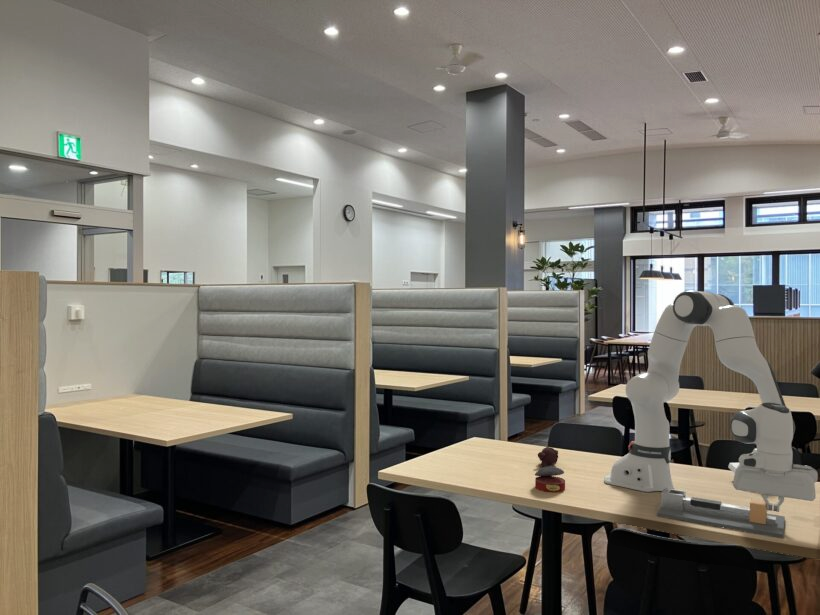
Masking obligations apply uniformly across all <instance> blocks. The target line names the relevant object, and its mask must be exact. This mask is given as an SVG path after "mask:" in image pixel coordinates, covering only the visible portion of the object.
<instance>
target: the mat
mask: <svg viewBox="0 0 820 615" xmlns="http://www.w3.org/2000/svg"><path fill="white" fill-rule="evenodd" d="M656 516H657V517H660V516H662V517H661V518H665V517H668V518H667V519H671V518H673V519H672V520H676V519H678V521H682V520H684V521H683V522H688V521H689V523H694V524H699V525H700V524H701V525H705V526H710V525H712V527H716V526H718V528H722V527H724V528H723V529H727V528H729V530H733V529H735V530H734V531H738V530H741V531H740V532H744V531H746V532H745V533H750V534H757V535H763V536H767V537H768V536H769V537H773V538H778V539H779V538H780V539H784V534H785V532H784V531H785V530H784V529H785V519H786V517H785V516H784V515H779V514H771V513H767V516H773V517H776V525H771V524H761V523H755V522H750V521H747V520H741V519H735V518H730V517H724V516H718V515H712V514H706V513H700V512H694V511H688V510H683V511H681V510H675V509H669V508H663V507H661V506H660V508H659V509H658V511H657V512H656Z"/></svg>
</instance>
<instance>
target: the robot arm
mask: <svg viewBox="0 0 820 615" xmlns="http://www.w3.org/2000/svg"><path fill="white" fill-rule="evenodd" d="M697 326H700V327H709V328H710V329H711V330H712V334H713V337H714V338H713V339H714V342H715V343H714V344H715V349H716V350H715V351H716V354H717V357H718V360H719V361H720V363H721V364H723V366H725V367H726V368H728V369H730V370H731V371H733V372H736V373H739V374H741V375H744V376H746V378H748V379H750V380H751V381H752V382H753V383H754V385H755V387H756V389H757V392H758V395H759V398H760V401H761V404H759V405H758V406H757V407H754V408H752V409H747V410H746V409H745V410H740V411H737V412H735V413H734V414H733V415H732V417H731V419H730V422H729V429H730V433H731V435H732V437H733V438H734V439H735V440H737V441H738V442H739V443H744V444H755V445H756V448H757V452H756V453H752V452H750V453H743V454H741V455H740V456H739V458H738V463H739V465H738V466H737V468H736V471H735V473H734V476H733V482H732V483H733V486H732V487H733V488H734V489H735V491H741V492H750V493H756V494H762V497H761V498H762V500H763V501H765V503H766V504H767V511H769V512H770V511H773V512H777V513H779V512H780V507H781V505H782V504H783V503H784V501H785V498H789V499H795V500H801V501H808V502H813V501H814V500H815V499H816V498H817V496H816V493H817V492H816V484H815V483H817V481H818V479H819V478H818V476H819V474H818V471H817V470H816V469H815V468H813V467H812V466H809V465H802V464H795V463H793V453H794V452H793V448H792V442H793V439H794V434H795V432H796V424H795V420H794V419H793V416H792V411H791V409H790V408H789V407H787V405H786V403H785V400H784V397H783V395H782V392H781V390H780V386H779V383H778V381H777V377H776V375H775V373H774V370H773V368H772V365H771V364H770V362H769V361H768V360H767V359H766V358H765V357H764V356H763V355H762V352H761V351H760V349H759V347H758V345H757V341H756V336H755V333H754V330H753V329H754V328H753V325H752V322H751V320H750V318H749V315H748V313H747V311H746V310H745V309H744V308H743V307H742V306H739V305H735V303H734V301H732V299H731V298H729V297H727V296H726V295H724V294H719V293H716V292H711V291H700V290H699V291H697V290H694V289H693V290H686V291H685V290H684V291H682V292H680V293H679V294H677V295H676V296H675V297H674V299H673V302H672V303H670V304H669V305H667V306H666V307H665V308H664V310H663V311H662V313H661V315H660V318H659V319H658V322H657V324H656V326H655V329H654V331H653V334H652V337H651V341H650V344H649V346H648V349H647V355H648V366H647V367H648V368H647V371H646V372H644V373H643V372H642V373H638V374H636V375H635V376H633V377H631V378H630V379H629V380H628V381H627V383H626V386H625V394H626V396H627V399H628V400H629V401H630V403H631V406H632V412H633V416H634V440H632V441H630V443H629V444H628V453H627V454H625V455H624V456H622V457H620V458H618V459H617V460H615V462H614V463H613V465H612V466H611V471H610V473H609V474H607V475H605V476H604V479H603V481H604V483H605V484H607V485H612V486H617V487H622V488H627V489H632V490H636V491H640V492H647V493H650V492H662V491H663V490H664V488H668V489H675V488H674V484H673V479H672V475H671V466H670V464H671V458H672V455H671V454H672V453H671V452H672V450H671V446H670V425H671V424H670V422H669V420H668V419H667V416H666V412H665V407H664V403H669V402H670V401H672V400H673V399H674V398H675V397H676V396H677V395H678V393H679V391H680V381H679V376H680V372H681V371H680V369H681V364H682V360H683V357H684V354H685V351H686V349H687V346H688V343H689V341H690V338H691V334H692V332H693V330H694V328H695V327H697ZM769 496H774V497H775V496H776V497H778V502H776V503H772V502H770V501H769V499H768V498H769Z"/></svg>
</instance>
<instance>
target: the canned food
mask: <svg viewBox="0 0 820 615" xmlns="http://www.w3.org/2000/svg"><path fill="white" fill-rule="evenodd" d="M563 474H565V471H564V469H561V468H559V467H557V466H552V465H548V466H545V467H543V468H542V467H541V468H539V470H537V471H536V472H535V473H534V476H536V477H535V480H534V482H535V484H534V486H535V489H536V490H538V491H540V492H541V491H542V492H545V493H562V492H564V491H565V490H566V480H565V479H564V478H562V477H560V476H561V475H563Z"/></svg>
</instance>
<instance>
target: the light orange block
mask: <svg viewBox="0 0 820 615" xmlns="http://www.w3.org/2000/svg"><path fill="white" fill-rule="evenodd" d="M749 508H750V522H755V523H761V524H766V515H767V514H768V513H767V512H768V510H767V504H766V503H765V501H764V500H763V499H762V500H760V499H755V498H751V499H750V502H749Z"/></svg>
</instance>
